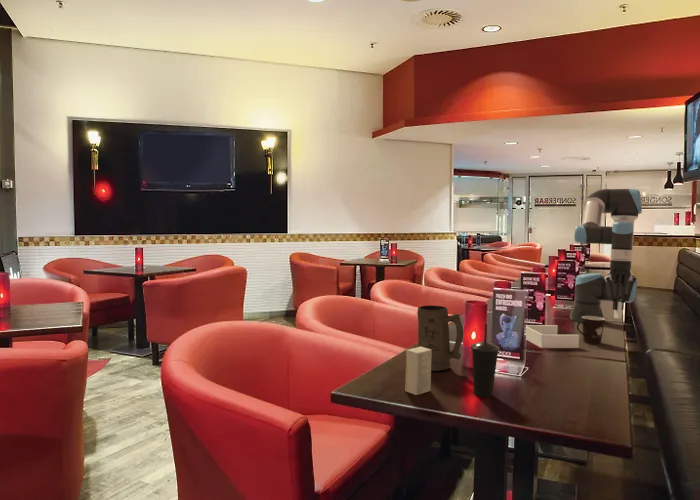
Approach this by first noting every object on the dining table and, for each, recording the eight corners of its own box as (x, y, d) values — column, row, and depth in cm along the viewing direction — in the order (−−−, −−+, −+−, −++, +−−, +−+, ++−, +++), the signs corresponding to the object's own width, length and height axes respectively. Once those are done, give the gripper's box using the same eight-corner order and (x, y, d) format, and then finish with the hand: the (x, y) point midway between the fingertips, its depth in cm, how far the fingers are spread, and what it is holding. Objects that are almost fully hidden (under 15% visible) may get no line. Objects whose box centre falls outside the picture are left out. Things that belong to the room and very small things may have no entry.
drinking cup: (480, 400, 140) (483, 327, 139) (463, 391, 147) (466, 322, 146) (503, 397, 143) (506, 326, 142) (485, 388, 150) (488, 320, 149)
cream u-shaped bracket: (556, 336, 218) (556, 325, 218) (578, 347, 200) (579, 335, 200) (521, 336, 217) (522, 325, 216) (541, 348, 199) (542, 335, 199)
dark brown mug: (598, 340, 214) (600, 316, 213) (607, 345, 205) (608, 320, 205) (569, 339, 215) (571, 315, 214) (576, 344, 206) (578, 319, 206)
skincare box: (419, 387, 150) (421, 346, 150) (431, 391, 147) (432, 349, 146) (404, 391, 146) (405, 349, 146) (415, 396, 143) (416, 352, 142)
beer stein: (411, 369, 167) (413, 308, 166) (419, 361, 177) (421, 303, 176) (460, 375, 162) (462, 312, 161) (464, 366, 172) (467, 307, 171)
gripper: (611, 260, 205) (607, 319, 206) (642, 261, 206) (638, 319, 207) (600, 259, 212) (597, 316, 213) (630, 259, 213) (626, 316, 215)
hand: (617, 317), depth 210 cm, fingers closed
